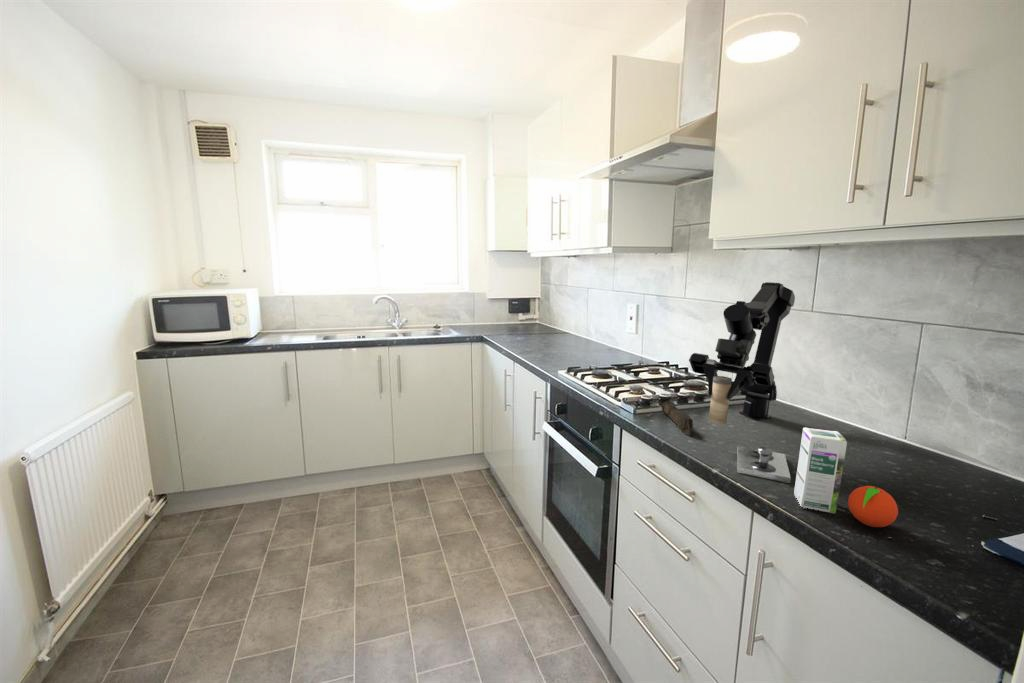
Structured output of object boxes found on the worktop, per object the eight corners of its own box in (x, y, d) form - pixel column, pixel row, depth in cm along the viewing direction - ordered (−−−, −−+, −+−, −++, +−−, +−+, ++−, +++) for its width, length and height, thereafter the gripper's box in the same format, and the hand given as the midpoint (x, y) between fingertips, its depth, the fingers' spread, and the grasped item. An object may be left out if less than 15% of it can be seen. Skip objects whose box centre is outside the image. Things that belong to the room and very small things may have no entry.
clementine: (883, 542, 74) (891, 503, 73) (835, 522, 80) (842, 485, 79) (900, 527, 79) (907, 490, 78) (854, 509, 84) (860, 474, 83)
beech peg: (717, 417, 113) (722, 375, 111) (730, 423, 109) (735, 379, 107) (704, 419, 111) (709, 376, 109) (717, 424, 107) (722, 381, 105)
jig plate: (737, 449, 110) (739, 429, 109) (784, 458, 106) (787, 437, 105) (737, 472, 98) (740, 449, 97) (789, 483, 94) (793, 459, 93)
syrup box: (800, 508, 84) (811, 436, 82) (792, 493, 90) (803, 425, 87) (835, 514, 82) (848, 441, 80) (826, 499, 88) (837, 429, 85)
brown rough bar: (660, 413, 137) (661, 398, 136) (673, 413, 136) (675, 399, 135) (679, 437, 118) (680, 420, 117) (694, 438, 118) (696, 421, 117)
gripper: (695, 322, 115) (673, 370, 109) (776, 331, 102) (756, 386, 96) (704, 348, 122) (683, 394, 116) (781, 359, 109) (762, 412, 103)
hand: (718, 396), depth 108 cm, fingers closed on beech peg, 4 cm apart
